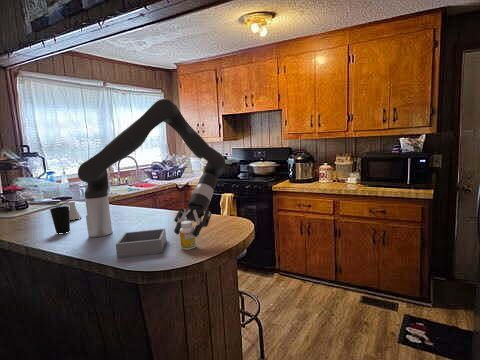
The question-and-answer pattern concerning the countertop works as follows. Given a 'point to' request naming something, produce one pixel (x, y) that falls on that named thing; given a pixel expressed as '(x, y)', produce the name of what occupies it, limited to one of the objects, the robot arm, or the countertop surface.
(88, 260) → the countertop surface
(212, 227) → the countertop surface
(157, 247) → the tote
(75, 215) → the flask
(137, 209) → the countertop surface
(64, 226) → the cup
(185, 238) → the supplement bottle
